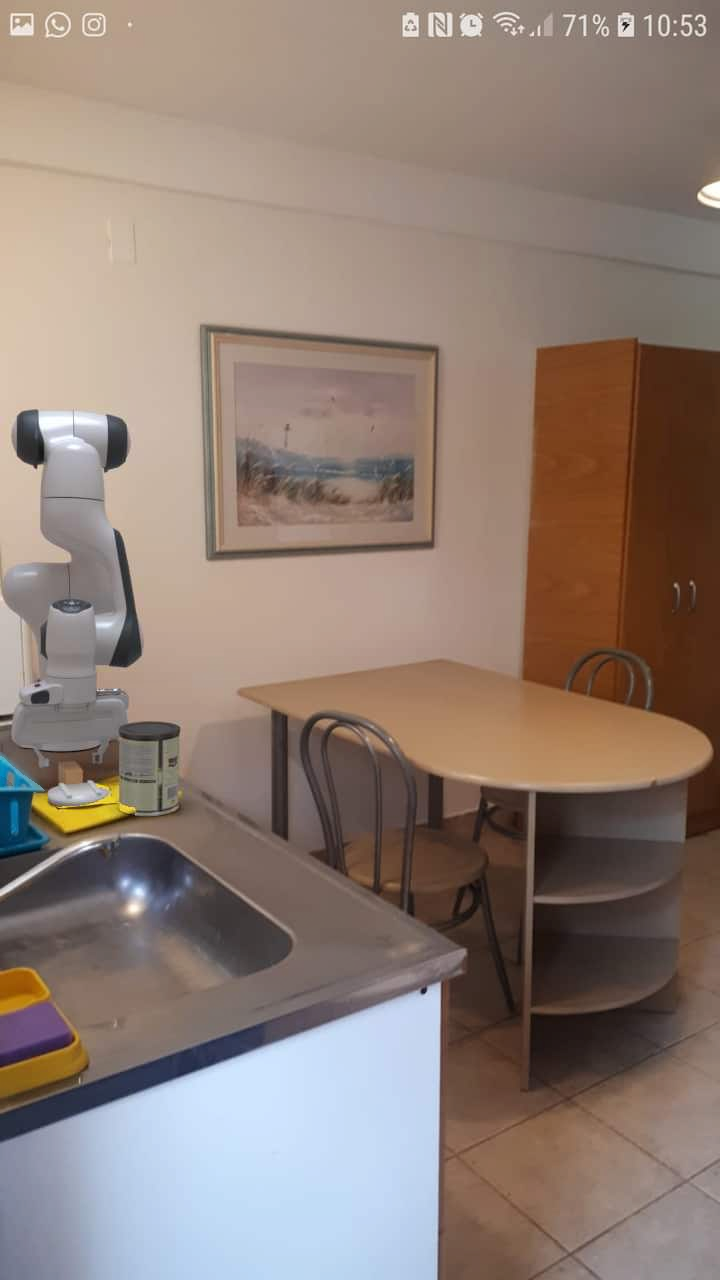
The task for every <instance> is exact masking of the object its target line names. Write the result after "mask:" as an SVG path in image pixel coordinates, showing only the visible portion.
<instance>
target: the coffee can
mask: <svg viewBox="0 0 720 1280" xmlns="http://www.w3.org/2000/svg"><path fill="white" fill-rule="evenodd" d="M180 733H181V726H179V725H178V724H176V723H171V722H166V721H137V722H136V721H134V722H130V723H128V724H125V725H122V726H120V727H119V739H118V740H119V741H118V742H119V743H118V744H119V745H118V746H119V748H118V749H119V750H118V752H119V753H118V756H119V757H118V765H119V766H118V767H119V768H118V775H119V776H118V803H119V802H120V803H121V804H122V805H125V806H128V807H134V808H135V809H136V812H135V814H134V815H135V817H156V816H163V815H164V816H165V815H168V814H171V813H174V812H176V811H177V810H178V809H179V808H180V804H179V802H180V801H179V796H180V791H179V790H180V789H179V787H180Z"/></svg>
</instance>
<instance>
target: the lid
mask: <svg viewBox="0 0 720 1280" xmlns="http://www.w3.org/2000/svg"><path fill="white" fill-rule="evenodd" d="M57 776H58V785H57V786H54V787H52V788H50V789H48V790H47V791H48V793H47V801H48V802H49V803H50V804H52V805H54V804H55V805H58V806H67V807H68V806H80V805H86V804H90V803H94V802H97V801H99V800H101V799H104V798H105V797H107V796H108V795H109V794H110V792H111V793H112V790H111V791H109V790H107V789H103V788H102V787H100V788H98V787H97V786H96V784H98V783H96V782H94V781H93V780H87V782H84V781H83V780H84V777H83V776H84V770H83V769H82V768H81V766H80V765H79V764H78V763H77V761H76V760H70V761H58V775H57ZM55 805H54V806H55Z"/></svg>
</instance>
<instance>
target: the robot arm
mask: <svg viewBox="0 0 720 1280" xmlns="http://www.w3.org/2000/svg"><path fill="white" fill-rule="evenodd" d="M10 433H11V435H10V437H11V443H12V447H13V450H14V452H15V453H16V457H17V458H18V459H19V460H20V461H22V462H23V463H25V464H27V465H30V466H32V467H33V469H35V470H38V466H40V465H41V466H43V467H42V473H41V480H40V506H39V507H40V509H39V513H40V514H39V516H40V517H39V530H40V532H41V534H42V536H43V537H44V539H45V540H46V541H48V542H49V543H51V544H52V545H54V546H56V547H58V548H60V549H63V550H64V551H67V553H69V555H70V557H71V560H70V561H69V562H43V561H42V562H41V561H40V562H38V561H37V562H35V561H34V562H33V561H32V562H27V563H22V564H21V563H20V564H16V565H11V566H10V568H8V570H6V572H5V574H4V576H3V578H2V581H1V586H0V588H1V589H0V590H1V595H2V598H3V600H4V603H5V604H6V606H7V607H8V608H9V610H11V611H12V612H14V613H15V614H16V615H18V616H19V617H20V618H21V619H22V620H23V621H24V622H25V623H26V624H27V626H28V627H29V629H30V630H31V632H32V633H33V636H34V638H35V642H36V647H37V655H38V669H39V670H38V671H39V673H38V676H39V678H38V679H37V681H36V682H35V683H31V684H28V685H26V686H23V687H20V688H19V692H18V697H19V700H20V701H19V702H18V703H17V704H16V706H15V707H14V710H13V714H12V715H13V716H12V720H11V721H12V722H11V740H12V741H13V742H14V744H16V745H17V746H19V747H20V748H27V749H33V751H34V752H35V754H36V755H37V757H38V766H39V768H40V769H45V768H49V767H50V758H49V757H48V755H43V754H42V752H41V751H49V752H72V751H73V752H74V751H82V750H88V749H92V748H95V747H96V748H97V747H98V746H99V747H98V749H97V751H96V752H92V754H91V755H92V758H91V760H92V761H91V762H92V764H93V765H96V764H97V765H99V764H102V763H103V755H104V753H105V752H106V750H107V749H108V747H109V743H110V742H111V741H112V740H119V727H120V726H122V725H125V724H129V723H128V720H129V719H128V714H127V710H128V708H129V707H130V706H129V705H130V703H129V702H130V698H129V697H130V696H129V695H128V693H127V692H126V691H124V690H121V688H116V687H115V688H98V687H97V686H98V685H97V683H98V680H97V679H98V678H97V677H98V675H97V674H98V673H97V668H96V666H108V667H113V668H115V667H116V668H128V667H130V666H132V665H133V664H135V663H136V662H137V661H138V660H139V659H140V658H141V657H142V656H143V655H142V654H143V651H144V645H145V640H144V639H145V638H144V633H143V630H142V629H143V628H142V626H141V623H140V621H139V617H138V614H137V609H136V608H137V607H136V601H135V596H134V595H135V594H134V589H133V581H132V576H131V571H130V564H129V561H128V556H127V551H126V546H125V545H126V544H125V542H124V539H123V536H122V534H121V532H120V531H119V530H117V529H115V527H113V526H112V524H111V523H110V521H109V519H108V516H107V512H106V508H105V503H106V502H105V501H106V500H105V496H106V495H105V480H104V474H106V473H108V472H109V471H110V470H113V469H118V468H120V467H121V466H122V465H123V464H125V463H126V462H127V461H126V460H127V458H128V456H129V453H130V451H131V444H132V442H131V434H130V432H129V430H128V426H127V423H126V421H124V419H123V418H121V417H119V416H115V415H112V414H108V413H107V414H105V415H104V414H100V413H95V412H92V411H91V412H90V411H84V410H55V409H54V410H39V409H36V408H35V409H27V410H22V411H21V412H19V413H18V415H16V419H15V421H14V422H13V425H12V428H11V432H10ZM110 740H111V741H110ZM109 741H110V742H109Z"/></svg>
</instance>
